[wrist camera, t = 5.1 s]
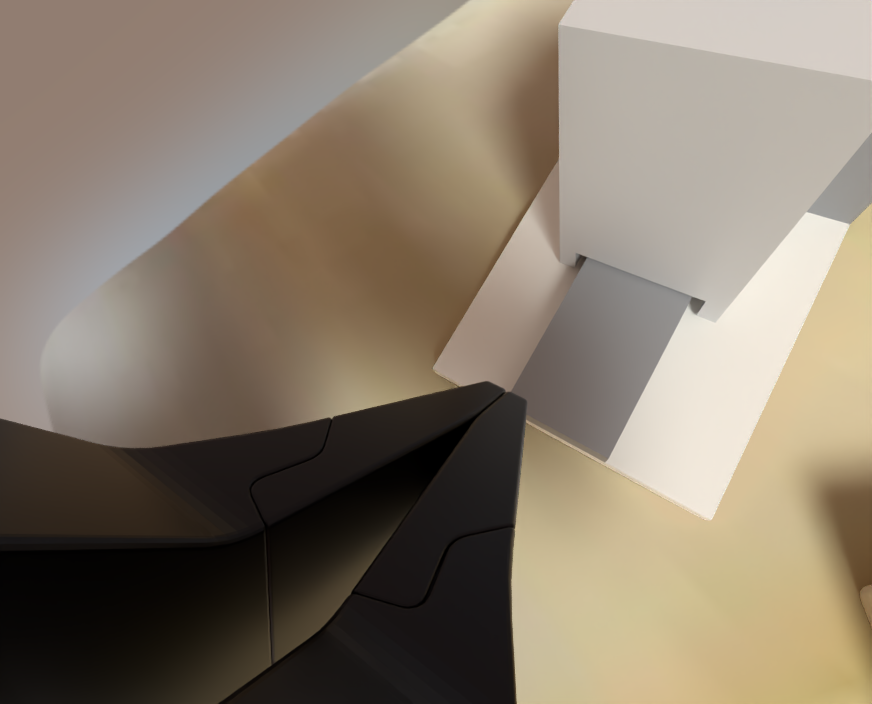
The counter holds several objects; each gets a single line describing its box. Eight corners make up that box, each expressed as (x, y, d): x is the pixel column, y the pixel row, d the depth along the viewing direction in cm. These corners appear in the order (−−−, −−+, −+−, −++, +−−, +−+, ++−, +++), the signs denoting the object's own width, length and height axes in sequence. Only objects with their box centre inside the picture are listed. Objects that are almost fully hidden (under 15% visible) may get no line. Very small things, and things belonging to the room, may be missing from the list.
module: (715, 322, 15) (951, 34, 6) (559, 262, 17) (558, -21, 8) (776, 200, 16) (1070, -221, 7) (620, 157, 18) (682, -210, 9)
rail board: (703, 519, 14) (793, 526, 9) (437, 374, 18) (382, 314, 12) (849, 209, 16) (1000, 52, 10) (580, 136, 20) (587, -9, 14)
